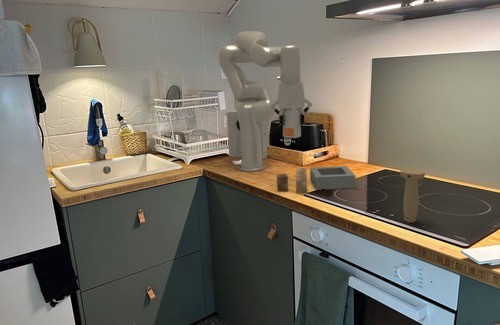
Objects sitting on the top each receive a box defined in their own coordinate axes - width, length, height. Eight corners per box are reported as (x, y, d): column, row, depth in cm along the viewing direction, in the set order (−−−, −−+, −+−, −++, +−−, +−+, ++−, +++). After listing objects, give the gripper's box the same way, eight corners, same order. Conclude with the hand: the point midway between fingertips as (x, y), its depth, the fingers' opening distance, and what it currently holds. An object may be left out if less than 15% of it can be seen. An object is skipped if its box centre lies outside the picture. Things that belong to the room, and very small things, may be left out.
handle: (402, 216, 115) (404, 168, 111) (424, 220, 111) (427, 171, 107) (395, 221, 111) (397, 172, 108) (418, 226, 107) (421, 175, 104)
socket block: (315, 189, 144) (315, 177, 143) (310, 179, 159) (310, 167, 158) (355, 188, 144) (355, 175, 143) (346, 177, 158) (346, 165, 157)
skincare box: (282, 137, 151) (281, 107, 148) (289, 135, 154) (288, 105, 151) (295, 138, 147) (294, 107, 144) (301, 136, 150) (300, 106, 147)
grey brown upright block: (297, 194, 141) (296, 170, 138) (295, 190, 144) (295, 168, 142) (307, 193, 140) (307, 170, 138) (306, 190, 144) (306, 167, 142)
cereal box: (270, 156, 205) (268, 110, 200) (263, 159, 199) (261, 111, 193) (236, 153, 216) (233, 110, 210) (229, 156, 210) (226, 111, 204)
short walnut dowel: (277, 192, 144) (277, 176, 143) (277, 188, 148) (276, 174, 147) (288, 191, 144) (287, 176, 143) (287, 188, 148) (286, 173, 147)
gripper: (268, 80, 142) (270, 127, 146) (314, 77, 141) (315, 125, 145) (267, 80, 150) (269, 124, 154) (312, 77, 149) (312, 122, 153)
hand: (291, 124), depth 150 cm, fingers closed on skincare box, 7 cm apart
